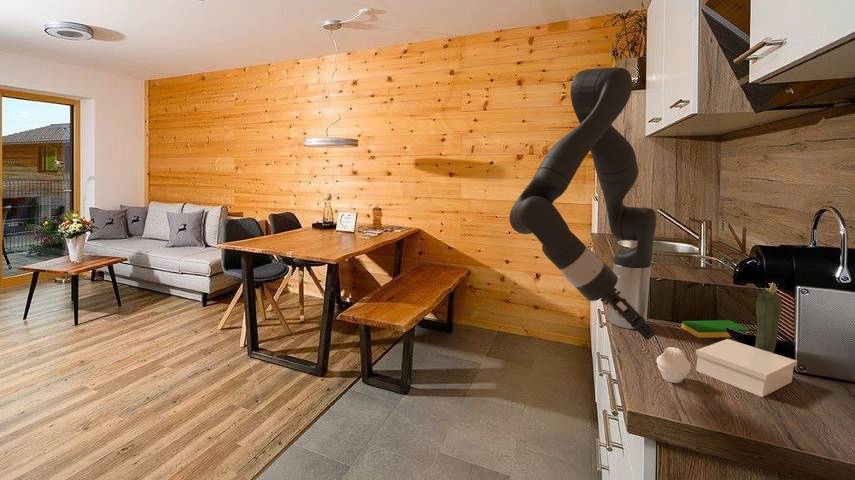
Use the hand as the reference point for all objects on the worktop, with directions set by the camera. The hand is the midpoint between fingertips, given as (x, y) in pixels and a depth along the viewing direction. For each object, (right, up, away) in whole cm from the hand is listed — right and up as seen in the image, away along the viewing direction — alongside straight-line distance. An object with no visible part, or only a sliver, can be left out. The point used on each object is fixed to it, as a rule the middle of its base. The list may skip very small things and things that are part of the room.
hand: (641, 328), depth 82 cm
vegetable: (+32, -10, +9) cm, 35 cm away
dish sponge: (+33, -7, +26) cm, 43 cm away
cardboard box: (+22, -11, +2) cm, 25 cm away
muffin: (+7, -11, +1) cm, 13 cm away
